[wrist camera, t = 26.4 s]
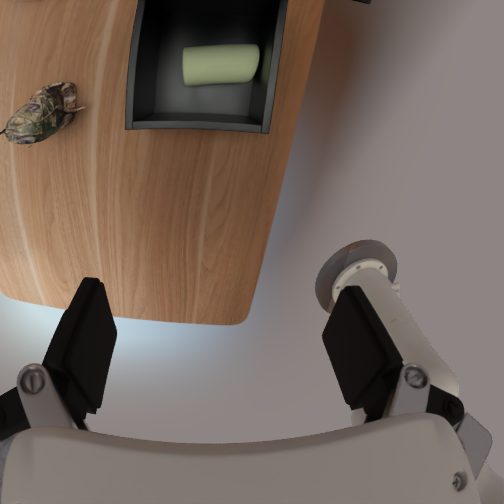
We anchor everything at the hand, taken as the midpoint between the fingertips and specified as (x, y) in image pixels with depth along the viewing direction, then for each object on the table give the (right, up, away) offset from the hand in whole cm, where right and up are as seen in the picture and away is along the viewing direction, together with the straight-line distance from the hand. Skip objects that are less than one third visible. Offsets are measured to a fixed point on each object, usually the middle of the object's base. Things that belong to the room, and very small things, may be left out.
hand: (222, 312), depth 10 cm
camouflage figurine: (-26, +22, +16) cm, 38 cm away
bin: (-4, +26, +17) cm, 31 cm away
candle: (-7, +23, +15) cm, 28 cm away
